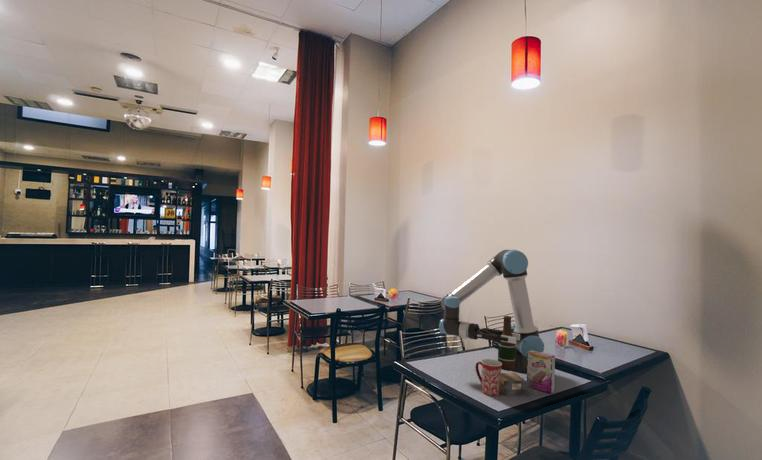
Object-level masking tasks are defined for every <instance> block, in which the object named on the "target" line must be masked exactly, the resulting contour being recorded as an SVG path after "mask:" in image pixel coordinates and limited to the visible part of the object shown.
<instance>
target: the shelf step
mask: <svg viewBox="0 0 762 460" xmlns="http://www.w3.org/2000/svg"><path fill="white" fill-rule="evenodd" d="M532 385H533V381H527V380H525V379H524V378H523V377H521V376H520V375H519V374H517V373H516V372H501V377H500V388H499V393H501V394H502V395H503V396H533V388H532Z"/></svg>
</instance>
